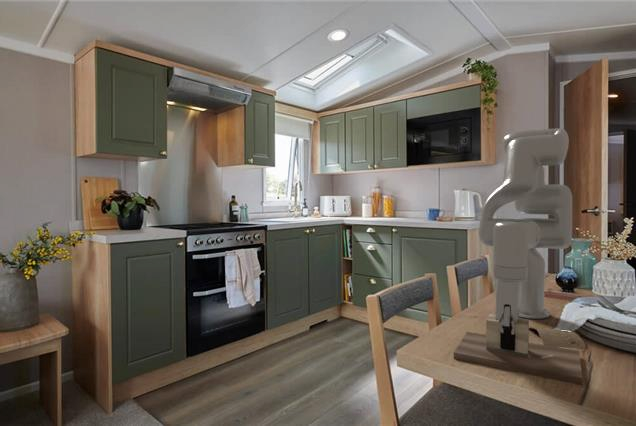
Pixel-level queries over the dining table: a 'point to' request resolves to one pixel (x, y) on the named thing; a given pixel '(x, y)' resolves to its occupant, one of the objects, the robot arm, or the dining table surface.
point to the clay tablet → (560, 338)
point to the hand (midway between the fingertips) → (508, 344)
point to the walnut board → (524, 359)
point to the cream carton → (519, 330)
